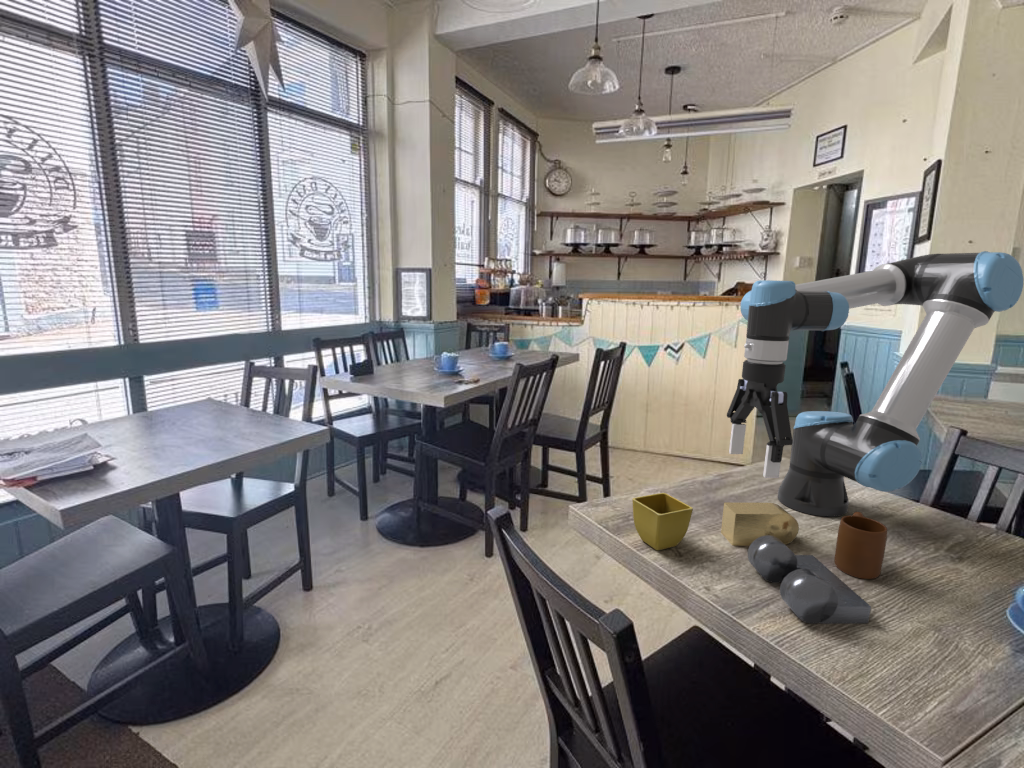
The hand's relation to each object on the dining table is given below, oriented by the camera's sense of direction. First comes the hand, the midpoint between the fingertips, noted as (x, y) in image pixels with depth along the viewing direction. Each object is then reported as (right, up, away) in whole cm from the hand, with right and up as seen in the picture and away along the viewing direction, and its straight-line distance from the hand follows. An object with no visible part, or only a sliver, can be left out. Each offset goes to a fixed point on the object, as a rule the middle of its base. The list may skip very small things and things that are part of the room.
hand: (752, 464), depth 108 cm
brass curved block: (+3, -16, +5) cm, 17 cm away
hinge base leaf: (+2, -20, -15) cm, 25 cm away
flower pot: (-18, -17, +2) cm, 25 cm away
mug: (+18, -19, -4) cm, 26 cm away
